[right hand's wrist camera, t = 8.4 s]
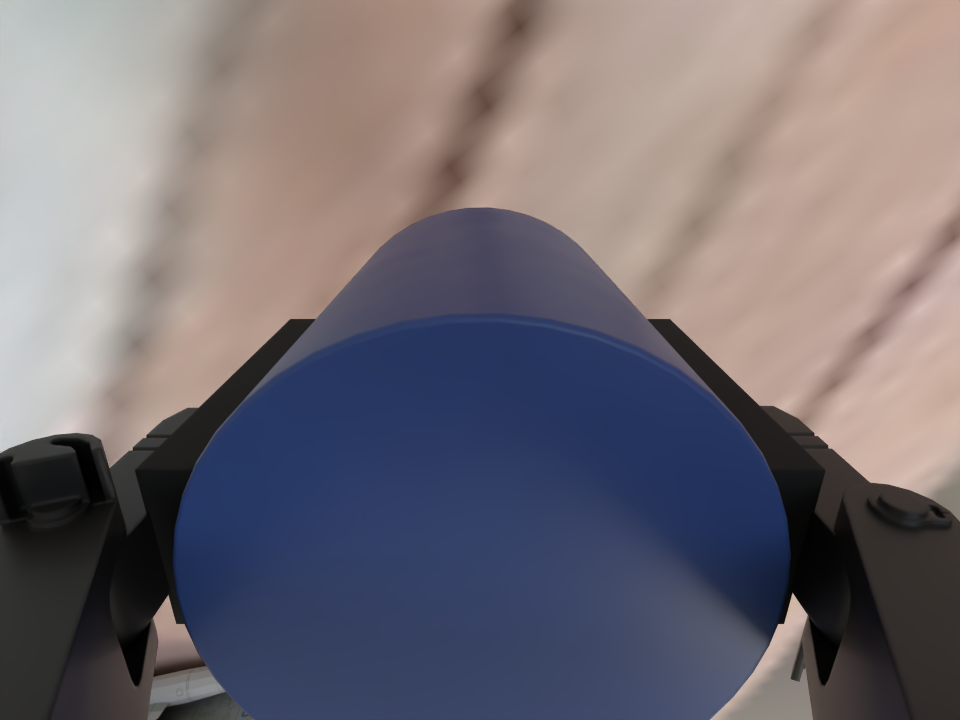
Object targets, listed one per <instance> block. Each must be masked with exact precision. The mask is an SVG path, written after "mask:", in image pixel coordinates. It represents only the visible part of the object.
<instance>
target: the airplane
mask: <svg viewBox="0 0 960 720" xmlns="http://www.w3.org/2000/svg"><path fill="white" fill-rule="evenodd" d="M147 720H254V719H253V718H251V717H250V716H249V715H248V714H247V713H246V712H245V711H244V710H243V709H242V708H240V707H239V706H238V705H237V704H236V703H235V702H234V701H233V699H232V698H231V697H230V696H229V695H228V694H227V693H226V691H225V690H224V689H223V688H222V687H221V686H220V684H219V683H218V682H217V681H216V680H215V678H214V677H213V675H212V674H211V672H210V671H209V669H208V668H207V666H204V667H198V668H192V669H187V670H182V671H178V672H173V673H169V674H164V675H160V676H155V677H153V682H152V689H151V696H150V703H149V710H148V717H147Z"/></svg>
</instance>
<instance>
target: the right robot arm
mask: <svg viewBox="0 0 960 720" xmlns="http://www.w3.org/2000/svg"><path fill="white" fill-rule="evenodd" d="M315 320H316V319H290V320H289V321H288V322H287V323H286V324H285V325H284V326H283V327H282V328H281V329H280V330H279V331H278V332H277V333H276V334H275V335H274V336H273V337H272V338H271V339H269V340H268V341H267V342H266V343H265V344H264V345H263V346H262V347H261V348H260V349H259V350H258V351H257V352H256V353H255V354H254V355H253V356H252V357H251V358H250V359H249V360H248V361H247V362H246V363H245V364H244V365H243V366H242V367H241V368H240V369H238V370H237V371H236V372H235V373H234V374H233V375H232V376H231V377H230V378H229V379H228V380H227V381H226V382H225V383H224V384H223V385H222V386H221V387H220V388H219V389H218V390H217V391H216V392H215V393H214V394H213V395H212V396H211V397H210V398H209V399H207V400H206V401H205V402H204V403H203V404H202V405H201V406H200V407H199V408H186V409H185V410H183V411H181V412H179V413H177V414H175V415H173V416H171V417H169V418H167V419H165V420H163V421H162V422H161V423H160V424H159V425H157V426H156V427H155V428H154V429H153V430H152V431H151V432H150V433H149V434H147V437H146V438H143V439H142V440H141V441H140V442H138V443H137V444H136V445H135V446H134V447H133V451H128V452H127V453H126V454H125V455H124V456H123V457H122V458H121V459H120V460H118V461H117V462H116V463H115V464H114V465H113V466H112V467H111V468H110V469H109V466H108V462H107V459H106V455H105V452H104V448H103V445H102V442H101V440H100V439H98V438H97V437H95V436H93V435H89V434H80V433H72V434H60V435H53V436H49V437H44V438H40V439H35V440H31V441H29V442H26V443H23V444H20V445H17V446H15V447H12V448H9V449H7V450H5V451H4V452H2V453H0V720H147V717H148V710H149V703H150V696H151V689H152V682H153V675H154V668H155V661H156V654H157V647H158V637H157V630H156V627H155V624H154V620H153V617H154V615H155V614H156V612H157V611H158V609H159V608H160V606H161V605H162V603H163V602H164V600H165V599H166V597H167V596H168V595H169V598H170V602H171V606H172V609H173V613H174V617H175V620H176V624H185V623H184V620H183V616H182V613H181V609H180V606H179V602H178V599H177V596H176V587H175V579H174V571H173V549H174V531H175V525H176V521H177V516H178V512H179V507H180V503H181V499H182V495H183V492H184V490H185V488H186V485H187V483H188V480H189V478H190V476H191V473H192V471H193V469H194V466H195V464H196V462H197V460H198V459H199V457H200V455H201V454H202V452H203V451H204V449H205V448H206V446H207V444H208V443H209V441H210V440H211V438H212V437H213V435H214V433H215V432H216V431H217V429H218V428H219V427H220V426H221V425H222V424H223V423H224V422H225V420H226V419H227V418H228V417H229V416H230V415H231V414H232V413H233V411H234V410H235V409H236V408H237V407H238V406H239V405H240V404H241V403H242V401H243V400H244V399H245V398H246V397H247V396H248V395H249V394H250V392H251V391H252V390H253V389H254V388H255V387H256V386H257V385H258V384H259V382H260V381H261V380H262V379H263V378H264V377H265V376H266V375H267V373H268V372H269V371H270V370H271V369H272V368H273V367H274V366H275V365H276V363H277V362H278V361H279V360H280V359H281V358H282V357H283V356H284V354H285V353H286V352H287V351H288V350H289V349H290V348H291V347H292V346H293V344H294V343H295V342H296V341H297V340H298V339H299V338H300V337H301V335H302V334H303V333H304V332H305V331H306V330H307V329H308V328H309V327H310V325H311V324H312V323H313V322H314V321H315ZM647 320H648V321H649V322H650V323H651V324H652V325H653V327H654V328H655V329H656V330H657V331H658V332H659V333H660V334H661V335H662V336H663V337H664V339H665V340H666V341H667V342H668V343H669V344H670V345H671V346H672V347H673V348H674V350H675V351H676V352H677V353H678V354H679V355H680V356H681V357H682V358H683V359H684V361H685V362H686V363H687V364H688V365H689V366H690V367H691V368H692V369H693V370H694V372H695V373H696V374H697V375H698V376H699V377H700V378H701V379H702V380H703V381H704V383H705V384H706V385H707V386H708V387H709V388H710V389H711V390H712V391H713V392H714V394H715V395H716V396H717V397H718V398H719V399H720V400H721V401H722V402H723V403H724V405H725V406H726V407H727V408H728V409H729V410H730V411H731V412H732V413H733V414H734V416H735V417H736V418H737V419H738V420H739V421H740V422H741V423H742V425H743V426H744V428H745V429H746V431H747V432H748V433H749V435H750V436H751V438H752V439H753V441H754V442H755V443H756V445H757V446H758V448H759V449H760V451H761V452H762V453H763V456H764V458H765V460H766V462H767V464H768V466H769V468H770V470H771V472H772V474H773V476H774V479H775V481H776V483H777V485H778V488H779V492H780V495H781V499H782V502H783V506H784V509H785V513H786V516H787V522H788V532H789V542H790V552H791V558H790V572H789V585H788V590H787V594H786V599H785V603H784V607H783V611H782V615H781V618H780V621H779V623H778V624H784V622H785V618H786V615H787V611H788V607H789V603H790V600H791V596H792V592H793V594H794V595H795V597H796V598H797V600H798V601H799V603H800V604H801V606H802V607H803V608H804V610H805V611H806V613H807V614H808V617H807V620H806V624H805V627H804V630H803V634H802V637H801V641H800V644H799V648H798V651H797V654H796V658H795V661H794V665H793V669H792V675H791V679H792V680H796V681H800V678H801V674H802V671H803V669H805V668H806V673H807V680H808V687H809V694H810V701H811V708H812V715H813V720H960V522H959V520H958V519H957V518H956V517H955V516H954V515H953V514H952V513H951V512H950V511H949V510H947V509H946V508H944V507H942V506H941V505H939V504H938V503H936V502H935V501H933V500H931V499H929V498H927V497H924V496H922V495H920V494H917V493H915V492H913V491H910V490H907V489H903V488H899V487H895V486H892V485H887V484H877V483H870V482H869V481H867V480H866V479H865V478H864V477H863V476H862V475H861V474H860V473H858V472H857V471H856V470H855V469H854V468H853V467H852V466H851V465H850V464H848V463H847V462H846V461H845V460H844V459H843V458H842V457H841V456H839V455H838V454H837V453H836V452H835V451H834V450H833V449H828V445H827V444H826V443H825V442H824V441H823V440H821V439H820V438H819V437H818V436H814V432H812V431H811V430H810V429H809V428H808V427H807V426H806V425H805V424H803V423H802V422H801V421H800V420H799V419H798V418H796V417H794V416H792V415H790V414H788V413H786V412H784V411H782V410H780V409H778V408H776V407H774V406H759V405H758V404H757V403H756V402H755V401H754V400H753V399H752V398H751V397H750V396H749V395H748V394H747V393H746V392H745V391H744V390H743V389H742V388H741V387H739V386H738V385H737V384H736V383H735V382H734V381H733V380H732V379H731V378H730V377H729V376H728V375H727V374H726V373H725V372H724V371H723V370H722V369H721V368H720V367H719V366H718V365H717V364H716V363H715V362H714V361H713V360H712V359H711V358H709V357H708V356H707V355H706V354H705V353H704V352H703V351H702V350H701V349H700V348H699V347H698V346H697V345H696V344H695V343H694V342H693V341H692V340H691V339H690V338H689V337H688V336H687V335H686V334H685V333H684V332H683V331H682V330H681V329H680V328H678V327H677V326H676V325H675V324H674V323H673V322H672V321H671V320H670V319H647Z"/></svg>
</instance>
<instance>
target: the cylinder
mask: <svg viewBox="0 0 960 720" xmlns="http://www.w3.org/2000/svg"><path fill="white" fill-rule="evenodd" d="M790 558H791V552H790V542H789V532H788V522H787V516H786V513H785V509H784V506H783V502H782V499H781V495H780V492H779V488H778V485H777V483H776V481H775V479H774V476H773V474H772V472H771V470H770V468H769V466H768V464H767V462H766V460H765V458H764V456H763V453H762V452H761V451H760V449H759V448H758V446H757V445H756V443H755V442H754V441H753V439H752V438H751V436H750V435H749V433H748V432H747V431H746V429H745V428H744V426H743V425H742V423H741V422H740V421H739V420H738V419H737V418H736V417H735V416H734V414H733V413H732V412H731V411H730V410H729V409H728V408H727V407H726V406H725V405H724V403H723V402H722V401H721V400H720V399H719V398H718V397H717V396H716V395H715V394H714V392H713V391H712V390H711V389H710V388H709V387H708V386H707V385H706V384H705V383H704V381H703V380H702V379H701V378H700V377H699V376H698V375H697V374H696V373H695V372H694V370H693V369H692V368H691V367H690V366H689V365H688V364H687V363H686V362H685V361H684V359H683V358H682V357H681V356H680V355H679V354H678V353H677V352H676V351H675V350H674V348H673V347H672V346H671V345H670V344H669V343H668V342H667V341H666V340H665V339H664V337H663V336H662V335H661V334H660V333H659V332H658V331H657V330H656V329H655V328H654V327H653V325H652V324H651V323H650V322H649V321H648V320H647V319H646V318H645V317H644V316H643V314H642V313H641V312H640V311H639V310H638V309H637V308H636V307H635V306H634V305H633V303H632V302H631V301H630V300H629V299H628V298H627V297H626V296H625V295H624V294H623V292H622V291H621V290H620V289H619V288H618V287H617V286H616V285H615V284H614V283H613V281H612V280H611V279H610V278H609V277H608V276H607V275H606V274H605V273H604V272H603V270H602V269H601V268H600V267H599V266H598V265H597V264H596V263H595V262H594V261H593V259H592V258H591V257H590V256H589V255H588V254H587V253H586V252H585V251H584V250H583V249H582V248H581V247H580V246H579V245H578V244H577V243H576V242H574V241H573V240H572V239H571V238H569V237H568V236H567V235H566V234H564V233H563V232H561V231H560V230H558V229H556V228H554V227H553V226H551V225H549V224H548V223H546V222H543V221H541V220H539V219H536V218H534V217H531V216H529V215H526V214H522V213H518V212H514V211H510V210H504V209H496V208H465V209H458V210H452V211H447V212H443V213H440V214H437V215H433V216H430V217H427V218H425V219H423V220H421V221H419V222H416V223H414V224H412V225H410V226H409V227H407V228H405V229H404V230H402V231H401V232H399V233H397V234H396V235H394V236H393V237H392V238H391V239H390V240H388V241H387V242H386V243H385V244H384V245H383V246H381V247H380V248H379V249H378V251H377V252H376V253H375V254H374V255H373V256H372V257H371V258H370V259H369V261H368V262H367V263H366V264H365V265H364V266H363V267H362V268H361V270H360V271H359V272H358V273H357V274H356V275H355V276H354V277H353V278H352V280H351V281H350V282H349V283H348V284H347V285H346V286H345V287H344V289H343V290H342V291H341V292H340V293H339V294H338V295H337V296H336V297H335V299H334V300H333V301H332V302H331V303H330V304H329V305H328V306H327V308H326V309H325V310H324V311H323V312H322V313H321V314H320V315H319V316H318V318H317V319H316V320H315V321H314V322H313V323H312V324H311V325H310V327H309V328H308V329H307V330H306V331H305V332H304V333H303V334H302V335H301V337H300V338H299V339H298V340H297V341H296V342H295V343H294V344H293V346H292V347H291V348H290V349H289V350H288V351H287V352H286V353H285V354H284V356H283V357H282V358H281V359H280V360H279V361H278V362H277V363H276V365H275V366H274V367H273V368H272V369H271V370H270V371H269V372H268V373H267V375H266V376H265V377H264V378H263V379H262V380H261V381H260V382H259V384H258V385H257V386H256V387H255V388H254V389H253V390H252V391H251V392H250V394H249V395H248V396H247V397H246V398H245V399H244V400H243V401H242V403H241V404H240V405H239V406H238V407H237V408H236V409H235V410H234V411H233V413H232V414H231V415H230V416H229V417H228V418H227V419H226V420H225V422H224V423H223V424H222V425H221V426H220V427H219V428H218V429H217V431H216V432H215V433H214V435H213V437H212V438H211V440H210V441H209V443H208V444H207V446H206V448H205V449H204V451H203V452H202V454H201V455H200V457H199V459H198V460H197V462H196V464H195V466H194V469H193V471H192V473H191V476H190V478H189V480H188V483H187V485H186V488H185V490H184V492H183V495H182V499H181V503H180V507H179V512H178V516H177V521H176V525H175V531H174V549H173V571H174V579H175V587H176V596H177V599H178V602H179V606H180V609H181V613H182V616H183V620H184V623H185V626H186V628H187V630H188V633H189V635H190V637H191V639H192V641H193V643H194V645H195V648H196V650H197V652H198V654H199V655H200V657H201V658H202V660H203V661H204V663H205V665H206V666H207V668H208V669H209V671H210V672H211V674H212V675H213V677H214V678H215V680H216V681H217V682H218V683H219V684H220V686H221V687H222V688H223V689H224V690H225V691H226V693H227V694H228V695H229V696H230V697H231V698H232V699H233V701H234V702H235V703H236V704H237V705H238V706H239V707H240V708H242V709H243V710H244V711H245V712H246V713H247V714H248V715H249V716H250V717H251V718H253V719H254V720H710V719H711V718H712V717H713V716H714V715H715V714H716V713H717V712H718V711H719V710H720V709H721V708H722V707H723V706H724V705H725V704H726V703H727V702H728V701H729V700H730V699H732V698H733V697H734V695H735V694H736V693H737V692H738V690H739V689H740V688H741V687H742V685H743V684H744V683H745V682H746V680H747V679H748V678H749V677H750V675H751V674H752V673H753V671H754V670H755V668H756V666H757V665H758V663H759V661H760V660H761V658H762V656H763V655H764V653H765V652H766V650H767V648H768V647H769V645H770V642H771V640H772V637H773V635H774V633H775V630H776V628H777V625H778V623H779V621H780V618H781V615H782V611H783V607H784V603H785V599H786V594H787V590H788V585H789V572H790Z"/></svg>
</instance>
